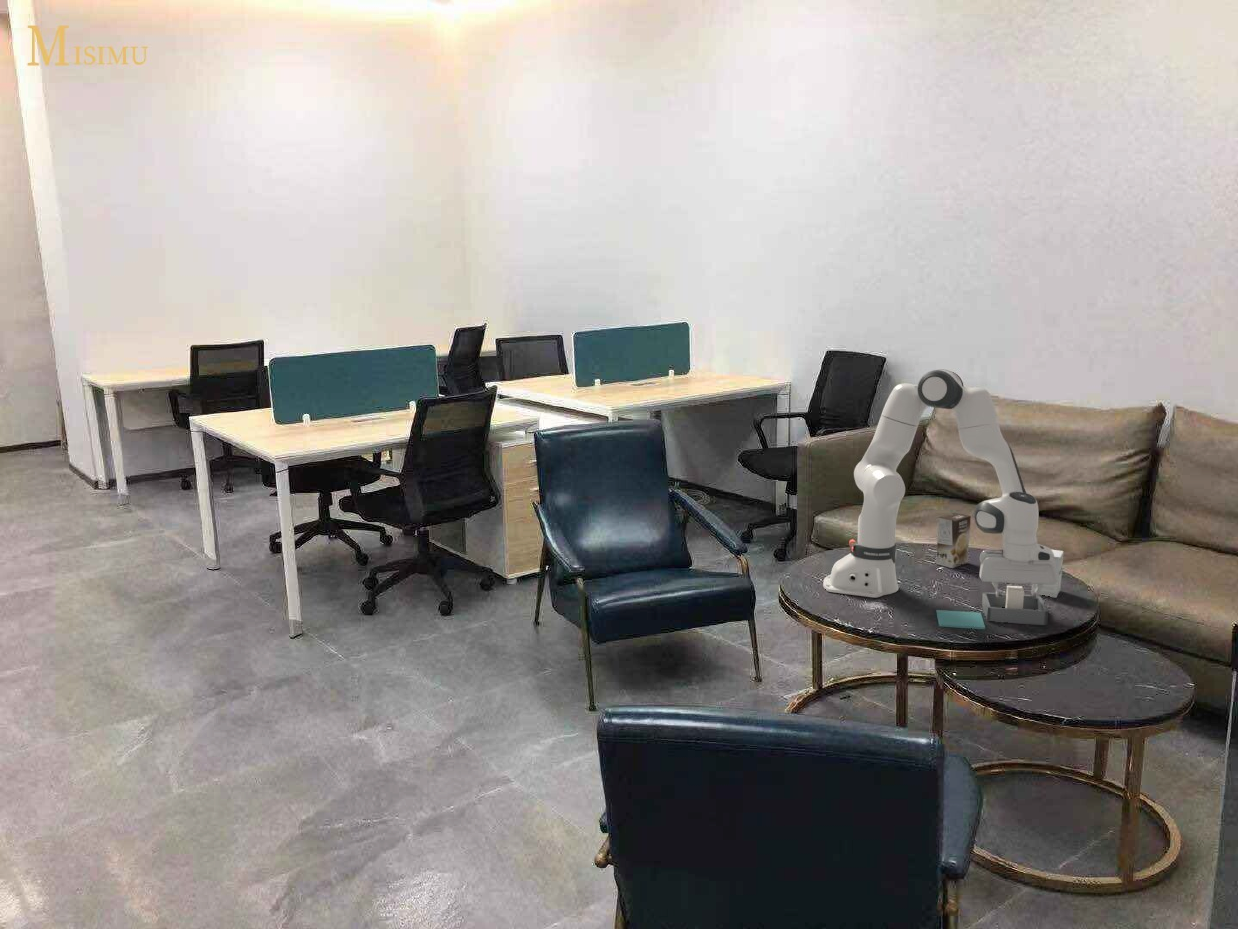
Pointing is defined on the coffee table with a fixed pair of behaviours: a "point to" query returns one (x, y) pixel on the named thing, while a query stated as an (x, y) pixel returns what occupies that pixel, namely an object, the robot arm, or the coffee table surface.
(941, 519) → the coffee box
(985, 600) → the crate
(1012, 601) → the block
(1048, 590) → the supplement box
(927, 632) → the coffee table surface
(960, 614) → the mat
